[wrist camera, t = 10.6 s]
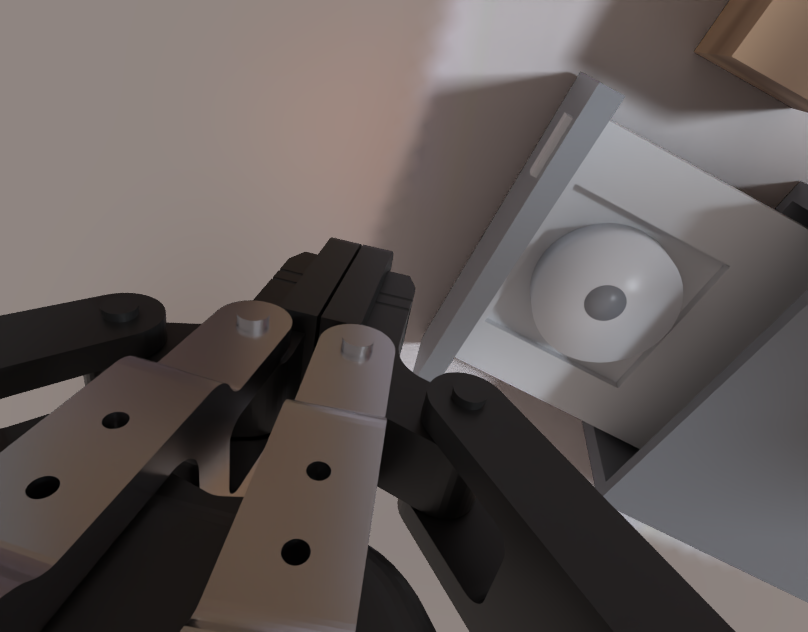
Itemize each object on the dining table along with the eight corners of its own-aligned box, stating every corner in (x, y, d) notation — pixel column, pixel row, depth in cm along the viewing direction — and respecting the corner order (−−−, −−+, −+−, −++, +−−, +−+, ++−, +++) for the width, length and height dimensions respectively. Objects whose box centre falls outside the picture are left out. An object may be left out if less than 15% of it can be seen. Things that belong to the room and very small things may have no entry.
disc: (579, 198, 22) (584, 209, 21) (703, 262, 23) (717, 277, 22) (505, 309, 26) (505, 326, 24) (616, 364, 26) (622, 383, 25)
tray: (895, 245, 23) (987, 296, 18) (662, 457, 30) (689, 528, 26) (575, 68, 21) (593, 78, 17) (418, 336, 29) (403, 389, 25)
